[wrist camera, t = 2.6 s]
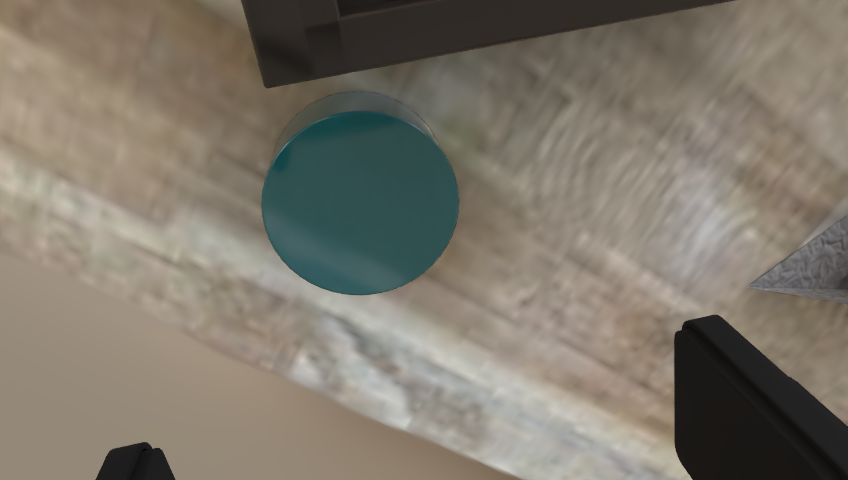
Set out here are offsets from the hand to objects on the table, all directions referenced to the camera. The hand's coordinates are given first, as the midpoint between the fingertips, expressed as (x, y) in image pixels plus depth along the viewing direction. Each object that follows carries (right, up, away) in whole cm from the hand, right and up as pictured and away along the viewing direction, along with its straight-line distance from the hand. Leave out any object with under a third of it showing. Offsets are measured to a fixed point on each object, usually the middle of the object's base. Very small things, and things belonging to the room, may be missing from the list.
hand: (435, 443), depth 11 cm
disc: (-3, +6, +13) cm, 15 cm away
